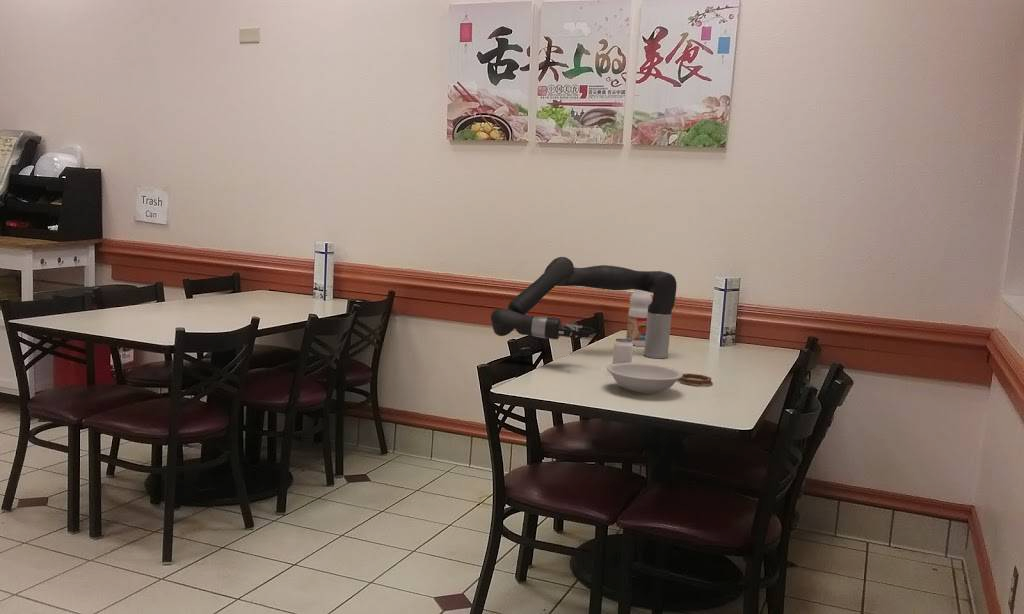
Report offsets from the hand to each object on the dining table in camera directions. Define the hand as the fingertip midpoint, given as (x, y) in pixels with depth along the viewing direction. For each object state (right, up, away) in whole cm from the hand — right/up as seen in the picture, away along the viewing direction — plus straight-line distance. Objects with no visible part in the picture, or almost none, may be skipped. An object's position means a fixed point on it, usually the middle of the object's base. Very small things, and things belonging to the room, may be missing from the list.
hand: (591, 333), depth 292 cm
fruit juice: (+25, -7, +61) cm, 66 cm away
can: (+10, -14, -1) cm, 18 cm away
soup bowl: (+14, -18, -25) cm, 33 cm away
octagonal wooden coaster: (+34, -17, -7) cm, 39 cm away
